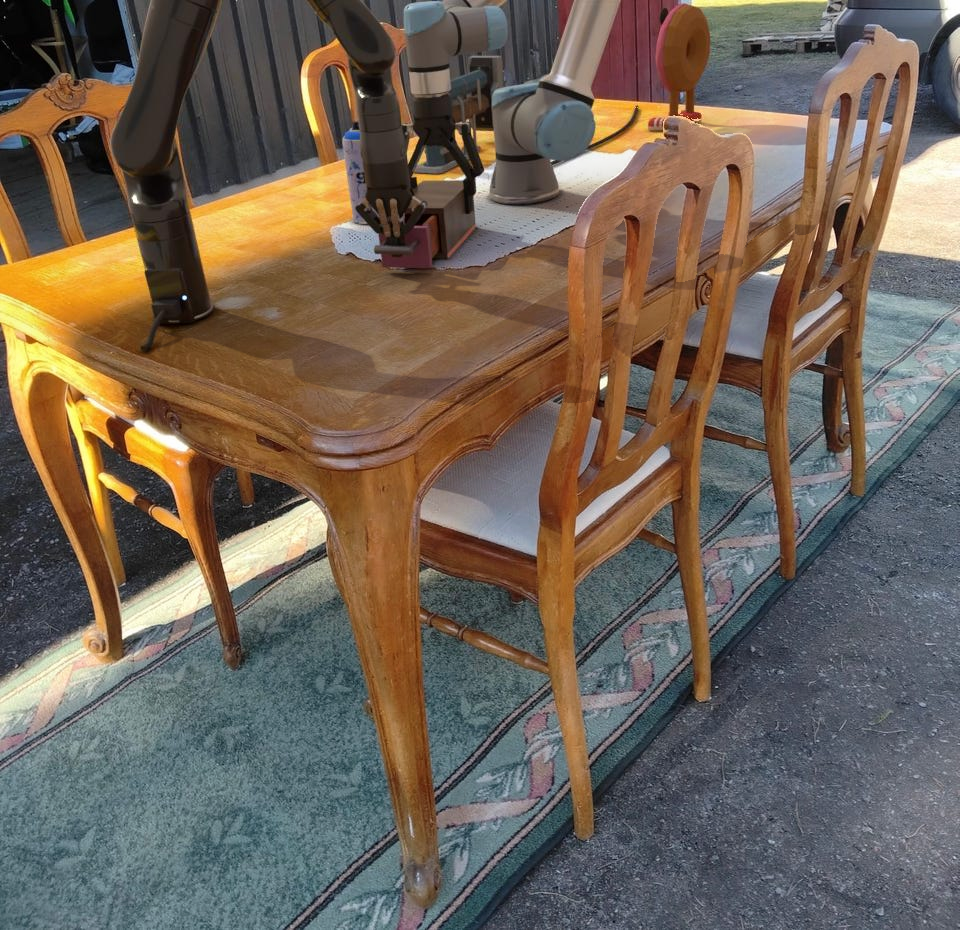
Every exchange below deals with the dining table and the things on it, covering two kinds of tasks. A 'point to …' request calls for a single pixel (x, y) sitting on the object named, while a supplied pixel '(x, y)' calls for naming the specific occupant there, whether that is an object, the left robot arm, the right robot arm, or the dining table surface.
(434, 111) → the right robot arm
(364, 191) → the aerosol can
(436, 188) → the cabinet
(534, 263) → the dining table surface
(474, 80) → the clamp
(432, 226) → the drawer
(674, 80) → the toy
